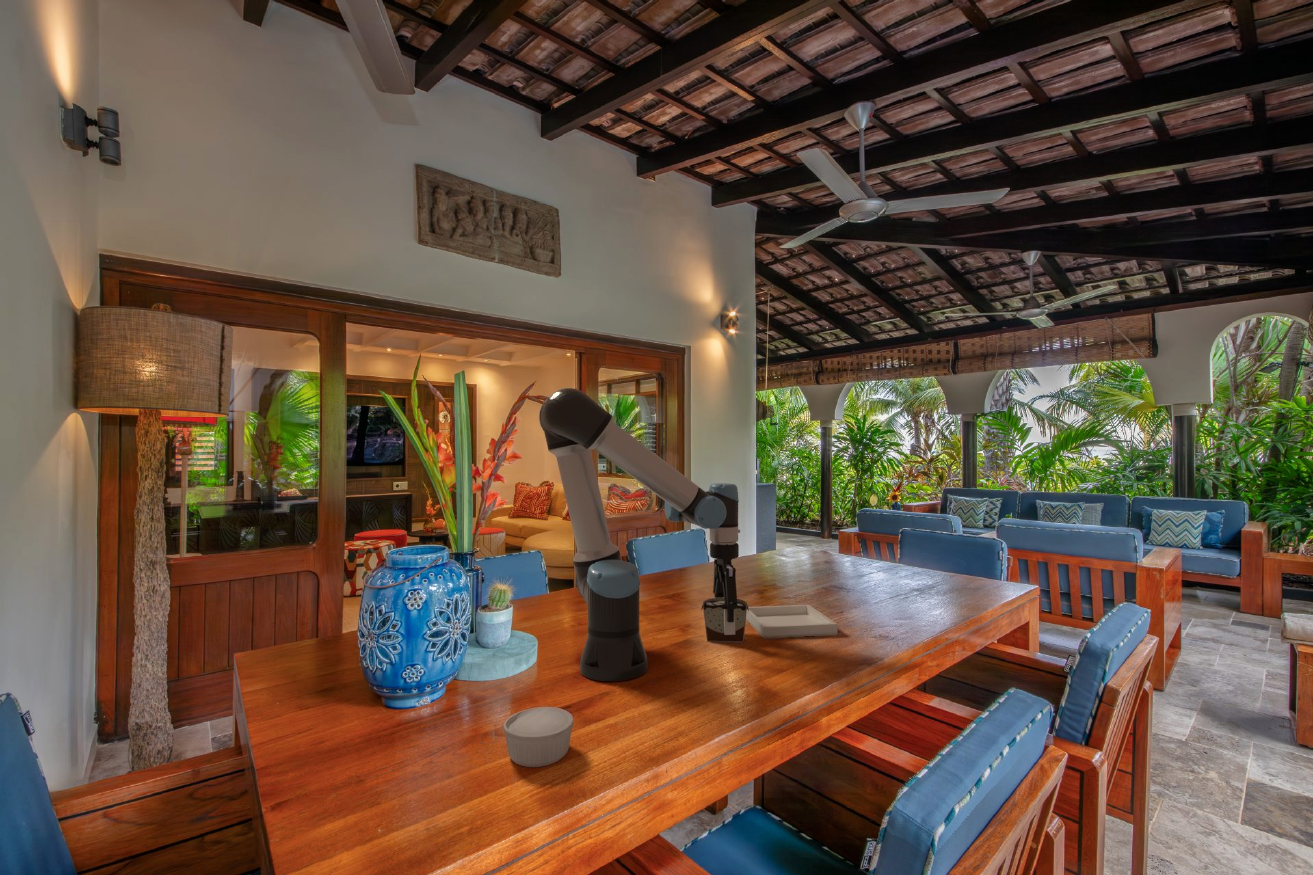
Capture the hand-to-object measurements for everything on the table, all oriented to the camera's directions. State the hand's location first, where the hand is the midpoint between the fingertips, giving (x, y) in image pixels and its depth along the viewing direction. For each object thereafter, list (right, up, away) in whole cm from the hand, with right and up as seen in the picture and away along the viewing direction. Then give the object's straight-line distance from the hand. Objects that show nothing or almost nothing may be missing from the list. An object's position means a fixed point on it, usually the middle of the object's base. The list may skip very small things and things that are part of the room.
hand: (724, 628), depth 153 cm
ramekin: (-37, -2, -58) cm, 69 cm away
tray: (+19, -3, +10) cm, 22 cm away
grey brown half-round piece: (0, -3, 0) cm, 3 cm away
